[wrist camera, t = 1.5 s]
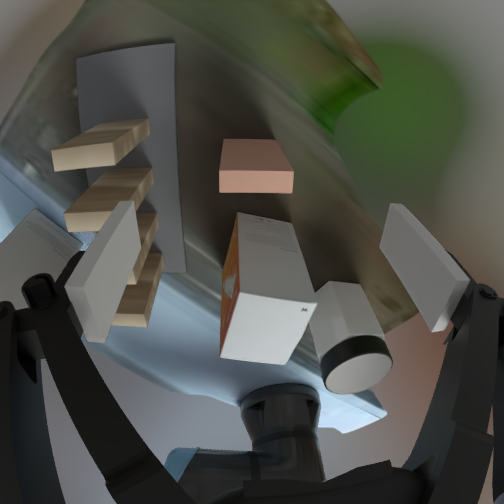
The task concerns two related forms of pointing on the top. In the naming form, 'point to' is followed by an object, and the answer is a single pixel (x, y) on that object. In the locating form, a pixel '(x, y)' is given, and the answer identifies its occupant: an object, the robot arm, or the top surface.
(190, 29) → the top surface
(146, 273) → the domino
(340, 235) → the top surface
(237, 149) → the domino
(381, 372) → the jar
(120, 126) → the domino
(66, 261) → the skincare box
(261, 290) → the small box
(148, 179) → the domino
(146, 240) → the domino
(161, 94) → the mat
